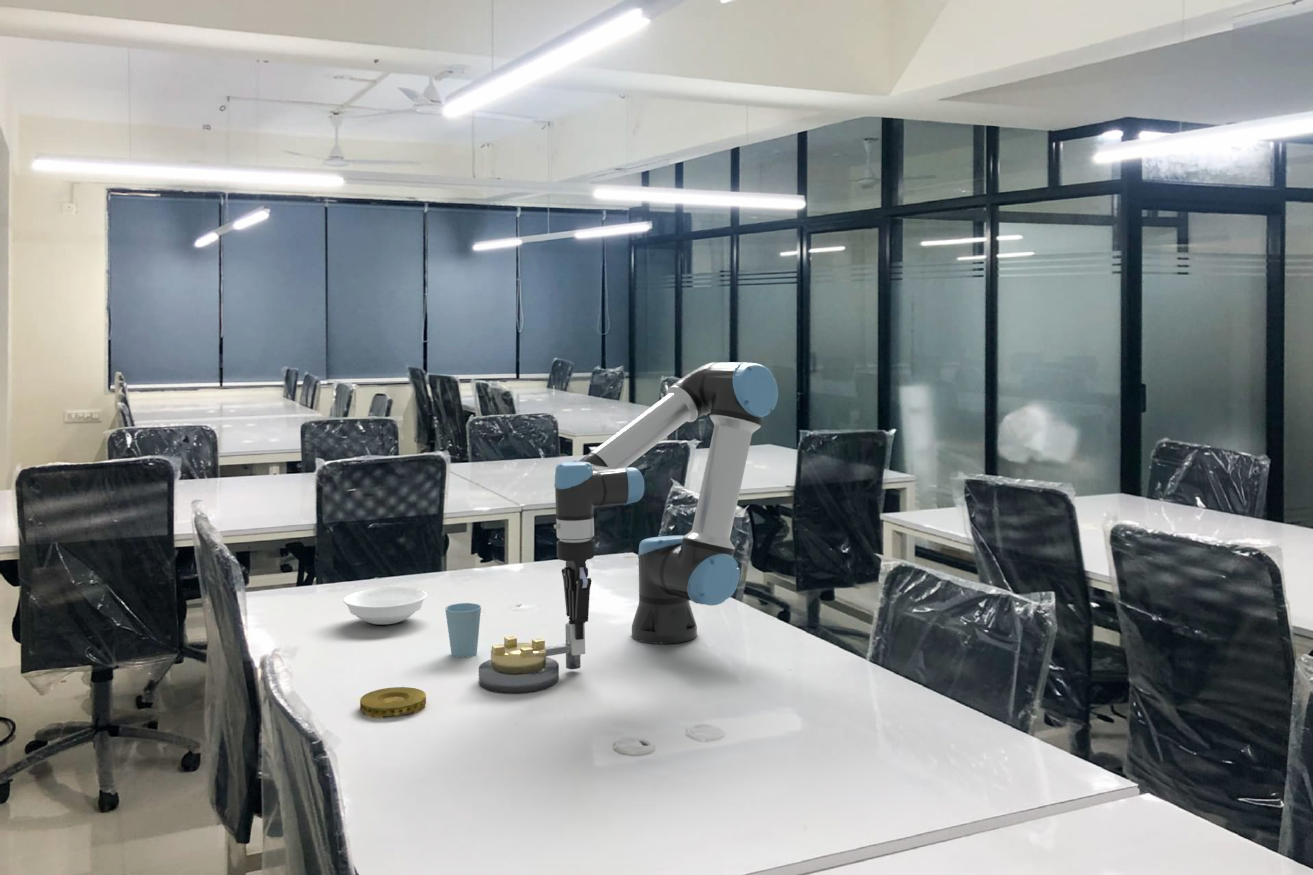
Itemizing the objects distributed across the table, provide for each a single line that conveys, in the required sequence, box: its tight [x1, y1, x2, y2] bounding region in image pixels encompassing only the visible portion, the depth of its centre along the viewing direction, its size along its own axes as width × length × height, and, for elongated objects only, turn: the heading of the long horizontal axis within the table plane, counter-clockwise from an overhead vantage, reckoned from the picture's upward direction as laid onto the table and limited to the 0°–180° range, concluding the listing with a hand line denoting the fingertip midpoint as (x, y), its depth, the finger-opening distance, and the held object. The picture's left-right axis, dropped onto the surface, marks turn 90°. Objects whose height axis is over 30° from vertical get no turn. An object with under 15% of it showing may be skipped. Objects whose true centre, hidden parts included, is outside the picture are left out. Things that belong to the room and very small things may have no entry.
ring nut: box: [490, 622, 582, 673], centre depth 219 cm, size 19×11×9 cm, turn 119°
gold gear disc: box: [359, 686, 427, 719], centre depth 202 cm, size 12×12×2 cm
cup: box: [445, 602, 482, 658], centre depth 236 cm, size 8×8×10 cm
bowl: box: [342, 586, 428, 625], centre depth 262 cm, size 20×20×6 cm
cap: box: [478, 656, 560, 695], centre depth 217 cm, size 16×16×3 cm
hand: (578, 653), depth 219 cm, fingers closed
